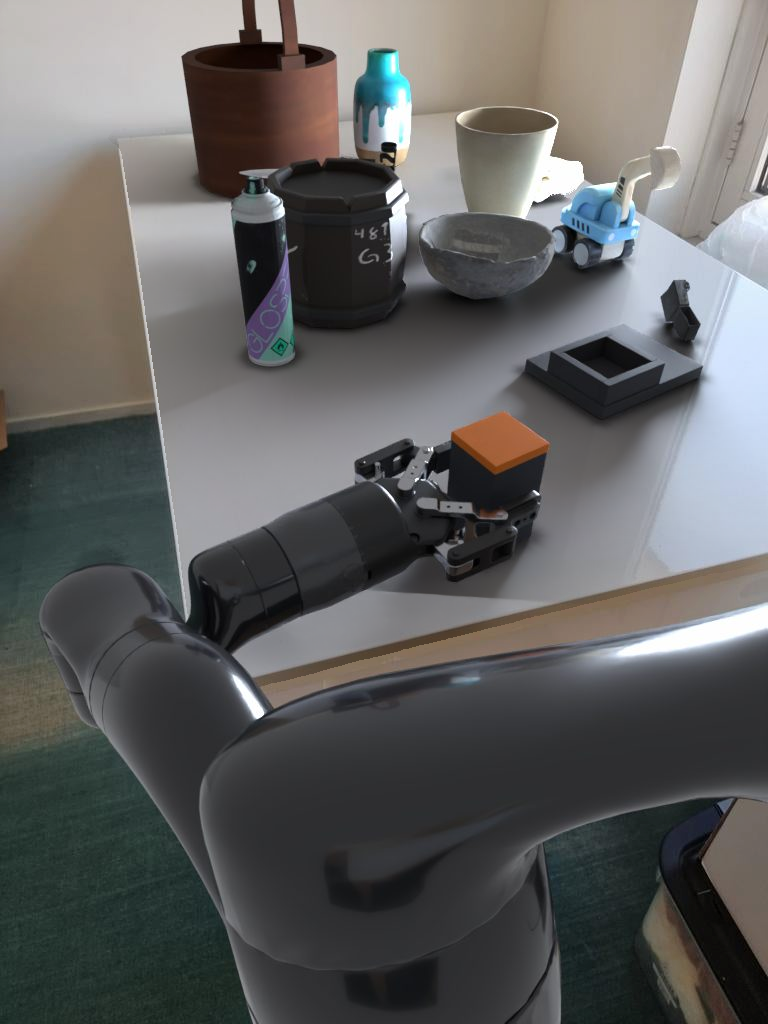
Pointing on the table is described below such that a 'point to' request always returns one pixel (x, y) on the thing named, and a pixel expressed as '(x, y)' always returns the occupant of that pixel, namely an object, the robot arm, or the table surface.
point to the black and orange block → (495, 464)
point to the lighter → (680, 310)
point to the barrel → (343, 239)
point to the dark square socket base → (613, 370)
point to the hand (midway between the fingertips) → (502, 473)
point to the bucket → (260, 103)
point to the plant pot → (503, 157)
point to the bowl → (485, 252)
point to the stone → (559, 178)
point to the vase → (382, 107)
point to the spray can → (263, 273)
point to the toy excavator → (612, 210)
